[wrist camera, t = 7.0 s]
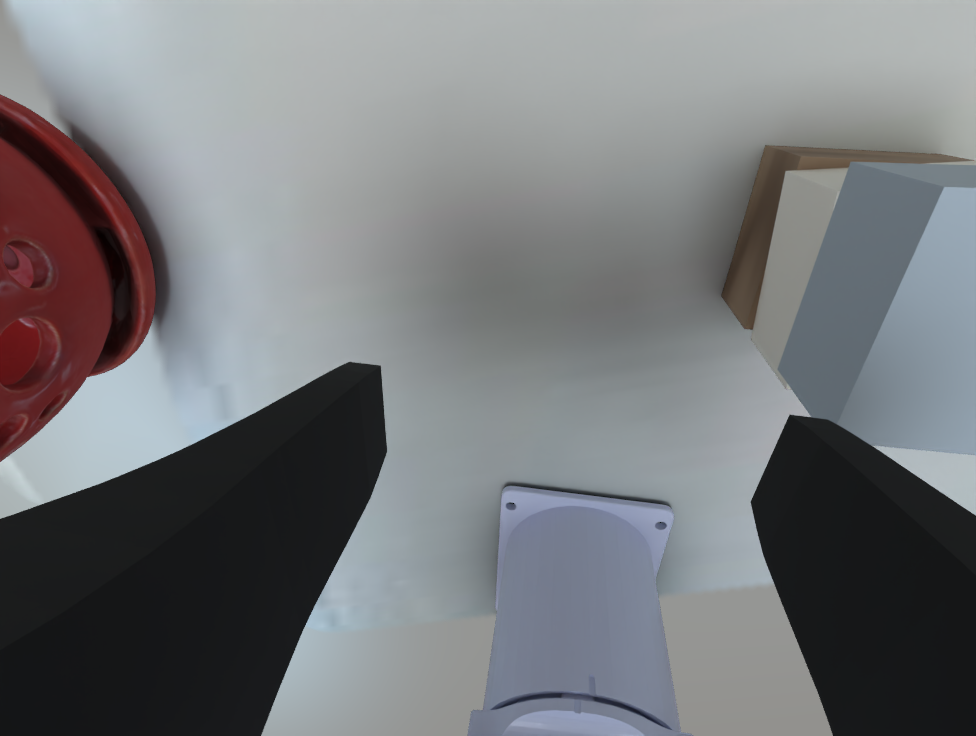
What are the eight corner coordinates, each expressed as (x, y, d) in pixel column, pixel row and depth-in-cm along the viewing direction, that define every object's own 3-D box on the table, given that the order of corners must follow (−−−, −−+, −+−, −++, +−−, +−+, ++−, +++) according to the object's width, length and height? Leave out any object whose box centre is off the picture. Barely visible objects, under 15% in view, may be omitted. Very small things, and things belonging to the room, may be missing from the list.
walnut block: (866, 306, 17) (917, 344, 15) (719, 293, 18) (744, 328, 15) (936, 153, 15) (1012, 167, 12) (762, 144, 15) (800, 156, 13)
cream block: (930, 339, 15) (1006, 392, 12) (750, 339, 16) (786, 389, 13) (1003, 159, 12) (1117, 178, 10) (785, 170, 13) (837, 191, 11)
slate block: (993, 386, 12) (1106, 467, 10) (777, 369, 13) (828, 441, 10) (1126, 170, 10) (1330, 200, 7) (851, 161, 10) (944, 186, 8)
